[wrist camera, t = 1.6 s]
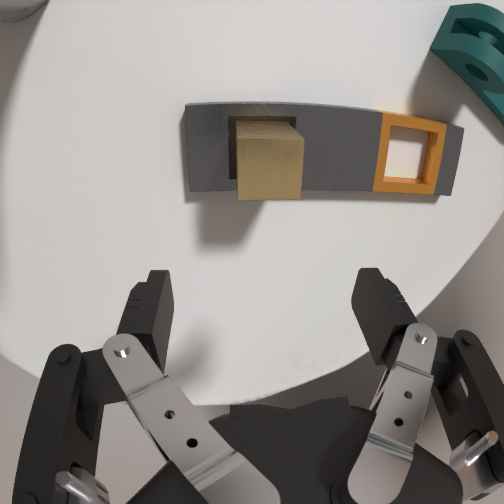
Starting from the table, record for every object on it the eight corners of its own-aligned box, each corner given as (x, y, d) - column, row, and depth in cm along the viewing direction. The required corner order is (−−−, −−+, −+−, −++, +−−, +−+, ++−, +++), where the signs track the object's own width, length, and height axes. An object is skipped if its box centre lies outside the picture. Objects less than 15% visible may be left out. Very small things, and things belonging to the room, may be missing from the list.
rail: (187, 103, 26) (185, 105, 24) (455, 124, 27) (464, 128, 26) (191, 185, 30) (190, 191, 29) (443, 190, 32) (450, 196, 30)
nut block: (235, 120, 27) (237, 138, 20) (285, 120, 27) (304, 139, 20) (235, 166, 29) (238, 200, 23) (283, 166, 30) (300, 199, 23)
